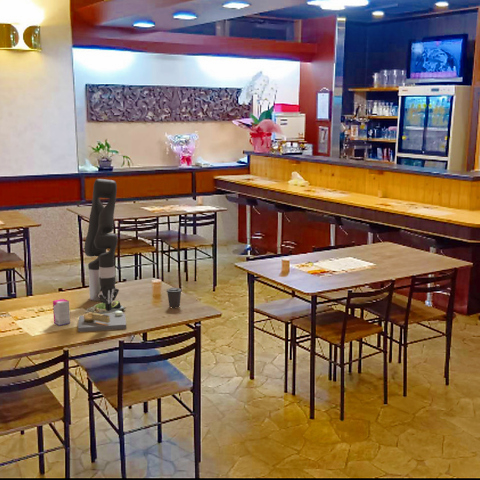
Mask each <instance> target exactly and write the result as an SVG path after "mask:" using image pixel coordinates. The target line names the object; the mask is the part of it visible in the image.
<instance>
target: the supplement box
mask: <svg viewBox="0 0 480 480" xmlns="http://www.w3.org/2000/svg"><path fill="white" fill-rule="evenodd" d="M52 308H53V309H52V311H53V313H52V314H53V324H54V325H56V326H58V327H62V326H66V325H70V323H71V317H70V314H71V313H70V300H67V299H65V298H59V299H56V300H53V301H52Z"/></svg>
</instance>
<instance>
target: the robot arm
mask: <svg viewBox="0 0 480 480" xmlns="http://www.w3.org/2000/svg"><path fill="white" fill-rule="evenodd" d="M117 186H118V185H117V182H116V180H112V179H104V178H97V179H95V180H94V183H93V187H92V188H93V191H92V201H91V202H92V203H91V208H90V214H89V220H88V227H87V228H88V229H87V234H86V236H85V237H86V238H85V240H84V241H85V242H84V250H83V251H84V254H85V255H86V256H87V257H97V258H95V259H94V260H92V261H90V262H88V265H87V269H88V284H89V285H88V287H89V299H90V300H91V301H96V302H97V301H98V302H99V301H100V303H105V309H106V311H110V310H111V309H112V303H113V302H115V301H116V298H117V295H118V294H119V291H120V290H119V288H117V287H116V285H117V284H116V283H117V282H116V280H117V278H116V266H115V253H116V248H117V246H118V241H119V239H118V236H117V235H116V234H115V233H112V232H113V231H114V215H115V207H116V201H117V190H118V187H117ZM101 199H109V200H108V202H107V203H106V204H105V206H104V205H103V203H102V202H101ZM106 250H108V251H106Z"/></svg>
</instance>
